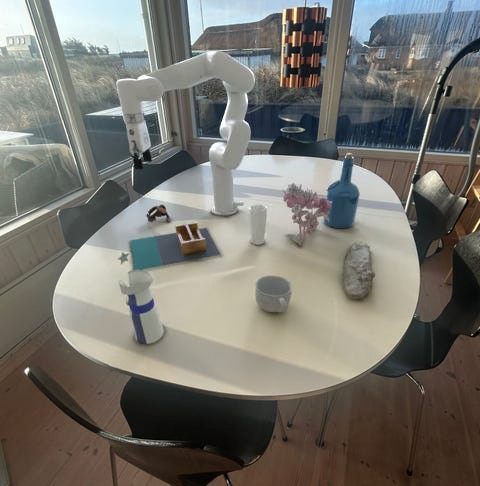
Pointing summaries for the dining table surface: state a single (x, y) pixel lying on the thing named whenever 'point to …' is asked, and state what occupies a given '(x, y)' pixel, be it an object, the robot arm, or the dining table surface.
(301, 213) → the flower
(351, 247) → the long grey stone
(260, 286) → the teacup
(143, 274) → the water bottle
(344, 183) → the wine bottle
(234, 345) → the dining table surface
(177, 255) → the mat
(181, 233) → the rack
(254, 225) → the drinking glass
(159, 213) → the pottery mug
